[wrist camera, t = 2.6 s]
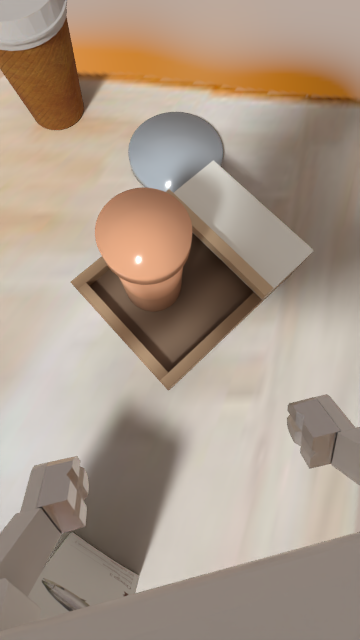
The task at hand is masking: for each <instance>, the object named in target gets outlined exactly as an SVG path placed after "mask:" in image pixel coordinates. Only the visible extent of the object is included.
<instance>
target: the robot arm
mask: <svg viewBox="0 0 360 640" xmlns="http://www.w3.org/2000/svg"><path fill="white" fill-rule="evenodd" d="M288 412H289V414H290V415H289V416H288V418H287V426H288V430H289V433H290V435H291V437H292V439H293V441H294V442H295V443H296V444H298V445H299V446H301V448H300V453H301V455H302V457H303V458H304V460H305V462H306V464H307V465H308V467H309V469H310V468H314V467H319V466H323V465H328V464H332V466H334V467H335V468H336V469H338V470H339V471H341V472H342V473H343V474H345V475H346V476H347V477H349V478H350V479H352V480H353V481H354V482H356V483H357V484H358V485H360V427H357V428H355V426H354V425H353V424H352V423H351V422H350V420H349V419H348V418H347V417H346V415H345V414H344V413H343V412H342V411H341V409H340V408H339V407H338V406H337V404H336V403H335V402H334V401H333V400H332V398H331V397H330V396H329V395H327V394H326V395H322V396H318V397H314V398H313V397H312V398H309V399H305V400H301V401H297V402H293V403H289V405H288ZM88 492H89V482H88V476H87V472H86V470H85V468H83V467H80V460H79V458H78V456H75V457H70V458H66V459H61V460H57V461H52V462H48V463H43V464H39V465H35V466H34V467H33V469H32V471H31V474H30V478H29V481H28V485H27V489H26V493H25V496H24V500H23V504H22V507H21V511H20V513H17V514H15V516H14V517H13V518H12V519H11V521H10V522H9V523H8V524H7V526H6V527H5V528H4V529H3V531H2V532H1V533H0V640H360V532H357V533H353V534H350V535H346V536H342V537H339V538H335V539H331V540H328V541H324V542H321V543H317V544H313V545H310V546H306V547H302V548H299V549H295V550H291V551H288V552H284V553H280V554H277V555H273V556H270V557H266V558H262V559H259V560H255V561H251V562H248V563H244V564H240V565H237V566H233V567H230V568H226V569H222V570H219V571H215V572H211V573H208V574H204V575H200V576H197V577H193V578H189V579H186V580H182V581H179V582H175V583H171V584H168V585H164V586H160V587H157V588H153V589H149V590H146V591H142V592H139V593H135V594H131V595H128V596H124V597H120V598H117V599H113V600H110V601H106V602H102V603H99V604H95V605H91V606H88V607H84V608H80V609H77V610H73V611H70V612H66V613H62V614H59V615H55V616H51V617H48V618H44V619H41V620H39V619H40V612H41V609H40V607H39V606H38V605H37V604H36V603H35V602H34V601H32V600H31V599H30V598H29V597H28V596H29V594H30V592H31V590H32V588H33V587H34V585H35V583H36V581H37V579H38V577H39V576H40V574H41V572H42V570H43V568H44V567H45V565H46V563H47V561H48V559H49V557H50V556H51V554H52V552H53V550H54V548H55V546H56V545H57V543H58V541H59V539H60V537H61V536H62V535H61V534H62V533H65V532H69V531H72V530H76V529H79V528H83V527H85V525H86V514H87V506H86V504H85V503H84V500H85V499H86V497H87V496H88Z"/></svg>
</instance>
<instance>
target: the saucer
mask: <svg viewBox="0 0 360 640" xmlns="http://www.w3.org/2000/svg"><path fill="white" fill-rule="evenodd" d="M222 157H223V147H222V143H221V140H220V137H219V135H218V134H217V132H216V131H215V129H214V128H213V127H212V126H211V125H210V124H209V123H207V122H206V121H205V120H203V119H201V118H199V117H197V116H195V115H192V114H188V113H183V112H168V113H163V114H159V115H156V116H154V117H152V118H150V119H148V120H147V121H145V122H144V123H143V124H141V125H140V126H139V127H138V128H137V130H136V131H135V132H134V134H133V136H132V138H131V141H130V144H129V160H130V165H131V168H132V171H133V173H134V175H135V177H136V178H137V180H138V181H139V182H140V183H141V184H142V185H143V186H144V187H145V188H154V189H158V190H161V191H164V192H166V191H167V190H169V189H170V190H171V191H172V192H173V193H174V192H175V191H176V190H177V189H179V188H180V187H181V186H182V185H183V184H185V183H186V182H187V181H188V180H190V179H191V178H192V177H193V176H195V175H196V174H197V173H198V172H199V171H201V170H202V169H203V168H204V167H206V166H207V165H208V164H209V163H211V162H212V161H213V160H214V161H215V162H216V163H217V164H218V165H219V166H220V167H221V163H222Z"/></svg>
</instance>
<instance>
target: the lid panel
mask: <svg viewBox="0 0 360 640" xmlns="http://www.w3.org/2000/svg"><path fill="white" fill-rule="evenodd" d="M166 193H168V194H170V195H172V196H173V197H175V198H176V199H177V200H179V201H180V202H181V204H182V205H183V206H184V207H185V209H186V210H187V212H188V214H189V216H190V219H191V223H192V232H193V233H194V234H195V235H196V236H197V237H198V238H199V239H200V240H201V241H202V242H203V243H204V244H205V245H206V246H207V247H208V248H209V249H210V250H211V251H212V252H213V253H214V254H215V255H216V256H217V257H218V258H219V259H221V260H222V261H223V262H224V263H225V264H226V265H227V266H228V267H229V268H230V269H231V270H232V271H233V272H234V273H235V274H236V275H237V276H238V277H239V278H240V279H241V280H242V281H243V282H244V283H245V284H246V285H247V286H248V287H249V288H251V289H252V290H253V291H254V292H255V293H256V294H257V295H258V296H259V297H260V298H261V299H262V300H263V299H264V298H265V297H266V296H267V295H268V294H269V293H270V292H271V291H272V290H273V289H274V288H275V287H276V286H278V285H279V284H280V283H281V282H282V281H283V280H284V279H285V278H286V277H287V276H288V275H289V274H290V273H291V272H292V271H293V270H294V269H295V268H296V267H298V266H299V265H300V264H301V263H302V262H303V261H304V260H305V259H306V258H307V257H308V256H309V255H310V254H311V253H312V252H313V251H314V250H313V249H312V248H311V247H310V246H309V245H308V244H306V243H305V242H304V241H303V240H302V239H301V238H300V237H299V236H297V235H296V234H295V233H294V232H293V231H292V230H291V229H290V228H289V227H287V226H286V225H285V224H284V223H283V222H282V221H281V220H280V219H278V218H277V217H276V216H275V215H274V214H273V213H272V212H271V211H270V210H268V209H267V208H266V207H265V206H264V205H263V204H262V203H261V202H260V201H258V200H257V199H256V198H255V197H254V196H253V195H252V194H251V193H249V192H248V191H247V190H246V189H245V188H244V187H243V186H242V185H241V184H239V183H238V182H237V181H236V180H235V179H234V178H233V177H232V176H231V175H229V174H228V173H227V172H226V171H225V170H224V169H223V168H222V167H220V166H219V165H218V164H217V163H216V162H215V161H214V160H213V161H212V162H211V163H209V164H208V165H207V166H206V167H204V168H203V169H202V170H201V171H199V172H198V173H197V174H196V175H195V176H193V177H192V178H191V179H190V180H188V181H187V182H186V183H185V184H183V185H182V186H181V187H180V188H179V189H177V190H176V191H175V192H174V193H173V192H172V191H171V190H170V189H169V190H167V191H166Z"/></svg>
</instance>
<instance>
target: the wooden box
mask: <svg viewBox="0 0 360 640" xmlns="http://www.w3.org/2000/svg"><path fill="white" fill-rule="evenodd" d="M299 266H300V265H299ZM299 266H298V267H299ZM298 267H296V268H295V269H294V270H293V271H292V272H291V273H290V274H289V275H288V276H287V277H286V278H285V279H284V280H283V281H285V280H286V279H287V278H288V277H289V276H290V275H291V274H292V273H293V272H294V271H295V270H296V269H297V268H298ZM283 281H282V282H283ZM282 282H281V283H282ZM71 283H72V284H73V285H74V287H75V288H76V289H77V290H78V291H79V292H80V293H81V294H82V295H83V297H84V298H85V299H86V300H87V301H88V302H89V303H90V304H91V305H92V307H93V308H94V309H95V310H96V311H97V312H98V313H99V314H100V315H101V317H102V318H103V319H104V320H105V321H106V322H107V323H108V324H109V325H110V326H111V328H112V329H113V330H114V331H115V332H116V333H117V334H118V335H119V336H120V338H121V339H122V340H123V341H124V342H125V343H126V344H127V345H128V346H129V348H130V349H131V350H132V351H133V352H134V353H135V354H136V355H137V356H138V358H139V359H140V360H141V361H142V362H143V363H144V364H145V365H146V366H147V367H148V369H149V370H150V371H151V372H152V373H153V374H154V375H155V376H156V377H157V379H158V380H159V381H160V382H161V383H162V384H163V385H164V386H165V387H166V389H167V390H170V389H171V388H172V387H173V386H174V385H175V384H176V383H177V382H178V381H179V380H180V379H182V378H183V377H184V376H185V375H186V374H187V373H188V372H189V371H190V370H191V369H192V368H193V367H194V366H195V365H196V364H197V363H198V362H199V361H200V360H201V359H203V358H204V357H205V356H206V355H207V354H208V353H209V352H210V351H211V350H212V349H213V348H214V347H215V346H216V345H217V344H218V343H219V342H220V341H221V340H223V339H224V338H225V337H226V336H227V335H228V334H229V333H230V332H231V331H232V330H233V329H234V328H235V327H236V326H237V325H238V324H239V323H240V322H241V321H242V320H244V319H245V318H246V317H247V316H248V315H249V314H250V313H251V312H252V311H253V310H254V309H255V308H256V307H257V306H258V305H259V304H260V303H261V302H262V301H263V300H265V299H266V298H267V297H268V296H269V295H270V294H271V293H272V292H273V291H274V290H275V289H276V288H277V287H278V286H279V285H280V284H281V283H280V284H279V285H278V286H276V287H275V288H274V289H273V290H272V291H271V292H270V293H269V294H268V295H267V296H266V297H265V298H264V299H263V300H262V299H261V298H260V297H259V296H258V295H257V294H256V293H255V292H254V291H253V290H252V289H251V288H249V287H248V286H247V285H246V284H245V283H244V282H243V281H242V280H241V279H240V278H239V277H238V276H237V275H236V274H235V273H234V272H233V271H232V270H231V269H230V268H229V267H228V266H227V265H226V264H225V263H224V262H223V261H222V260H221V259H219V258H218V257H217V256H216V255H215V254H214V253H213V252H212V251H211V250H210V249H209V248H208V247H207V246H206V245H205V244H204V243H203V242H202V241H201V240H200V239H199V238H198V237H197V236H196V235H195V234H194V233H193V232H192V241H191V249H190V253H189V256H188V259H187V261H186V263H185V265H184V266H183V272H182V283H181V291H180V294H179V296H178V298H177V300H176V301H175V302H174V303H173V304H172V305H171V306H170V307H168V308H166V309H164V310H161V311H156V312H151V311H145V310H142V309H140V308H138V307H137V306H135V305H134V304H133V303H132V302H131V300H130V299H129V297H128V295H127V293H126V291H125V289H124V286H123V284H122V282H121V280H120V278H119V277H118V276H117V275H116V274H115V273H113V272H112V271H111V269H110V268H109V267H108V266H107V264H106V262H105V260H104V258H103V257H100V258H99V259H98V260H97V261H96V262H94V263H93V264H92V265H91V266H89V267H88V268H87V269H86V270H85V271H83V272H82V273H81V274H80V275H78V276H77V277H76V278H75V279H74V280H72V281H71Z"/></svg>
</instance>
